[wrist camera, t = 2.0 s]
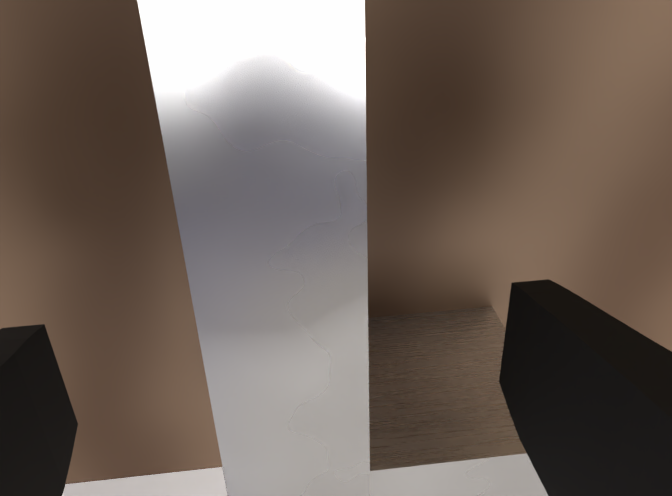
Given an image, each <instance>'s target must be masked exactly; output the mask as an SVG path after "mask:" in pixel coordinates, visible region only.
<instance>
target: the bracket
mask: <svg viewBox="0 0 672 496" xmlns="http://www.w3.org/2000/svg"><path fill="white" fill-rule="evenodd" d="M137 2H138V7H139V13H140V18H141V24H142V29H143V35H144V40H145V46H146V51H147V57H148V62H149V67H150V73H151V78H152V84H153V89H154V95H155V100H156V106H157V111H158V117H159V122H160V128H161V133H162V139H163V144H164V150H165V155H166V160H167V166H168V171H169V177H170V182H171V188H172V193H173V199H174V204H175V210H176V215H177V221H178V226H179V232H180V237H181V243H182V248H183V254H184V259H185V264H186V270H187V275H188V281H189V286H190V292H191V297H192V303H193V308H194V314H195V319H196V325H197V330H198V336H199V341H200V347H201V352H202V358H203V363H204V368H205V374H206V379H207V385H208V390H209V396H210V401H211V407H212V412H213V418H214V423H215V429H216V434H217V440H218V445H219V451H220V456H221V461H222V467H223V472H224V478H225V483H226V489H227V494H228V496H548V494H547V492H546V490H545V488H544V486H543V484H542V482H541V481H540V479H539V477H538V475H537V473H536V471H535V469H534V467H533V465H532V463H531V461H530V459H529V457H528V455H527V453H526V451H525V449H524V447H523V445H522V443H521V441H520V439H519V436H518V434H517V431H516V428H515V426H514V423H513V420H512V418H511V415H510V412H509V409H508V407H507V404H506V401H505V398H504V395H503V392H502V389H501V386H500V383H499V377H500V369H501V361H502V353H503V346H504V338H505V330H506V329H505V327H504V325H503V324H502V322H501V320H500V319H499V317H498V315H497V314H496V312H495V310H494V308H493V307H481V308H471V309H460V310H449V311H438V312H428V313H417V314H406V315H396V316H385V317H374V318H368V254H367V165H366V75H365V0H137Z"/></svg>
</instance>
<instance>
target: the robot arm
mask: <svg viewBox="0 0 672 496" xmlns="http://www.w3.org/2000/svg"><path fill="white" fill-rule="evenodd" d="M499 383H500V386H501V389H502V392H503V395H504V398H505V401H506V404H507V407H508V409H509V412H510V415H511V418H512V420H513V423H514V426H515V428H516V431H517V434H518V436H519V439H520V441H521V443H522V445H523V447H524V449H525V451H526V453H527V455H528V457H529V459H530V461H531V463H532V465H533V467H534V469H535V471H536V473H537V475H538V477H539V479H540V481H541V482H542V484H543V486H544V488H545V490H546V492H547V494H548V496H672V351H670V350H668V349H666V348H665V347H663V346H661V345H659V344H658V343H656V342H654V341H653V340H651V339H649V338H648V337H646V336H644V335H643V334H641V333H639V332H638V331H636V330H634V329H633V328H631V327H629V326H628V325H626V324H624V323H623V322H621V321H619V320H618V319H616V318H615V317H613V316H611V315H610V314H608V313H606V312H605V311H603V310H601V309H600V308H598V307H596V306H595V305H593V304H592V303H590V302H588V301H587V300H585V299H583V298H582V297H580V296H578V295H577V294H575V293H573V292H571V291H570V290H568V289H566V288H564V287H563V286H561V285H559V284H557V283H555V282H553V281H551V280H549V279H546V280H535V281H524V282H513V283H511V291H510V299H509V307H508V314H507V322H506V330H505V338H504V346H503V353H502V361H501V369H500V377H499ZM77 427H78V422H77V419H76V416H75V413H74V411H73V408H72V405H71V402H70V399H69V396H68V393H67V390H66V387H65V384H64V381H63V378H62V375H61V372H60V369H59V366H58V363H57V360H56V357H55V354H54V351H53V348H52V345H51V342H50V339H49V336H48V333H47V330H46V327H45V324H41V325H29V326H18V327H7V328H2V329H0V496H62V493H63V490H64V487H65V483H66V479H67V475H68V470H69V466H70V462H71V457H72V452H73V447H74V442H75V437H76V432H77Z"/></svg>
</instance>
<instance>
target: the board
mask: <svg viewBox="0 0 672 496" xmlns="http://www.w3.org/2000/svg"><path fill="white" fill-rule="evenodd" d="M365 75H366V165H367V254H368V318H374V317H385V316H396V315H406V314H417V313H428V312H438V311H449V310H460V309H471V308H481V307H493V308H494V310H495V312H496V314H497V315H498V317H499V319H500V320H501V322H502V324H503V325H504V327H505V329H506V322H507V314H508V307H509V299H510V291H511V283H513V282H524V281H535V280H546V279H549V280H551V281H553V282H555V283H557V284H559V285H561V286H563V287H564V288H566V289H568V290H570V291H571V292H573V293H575V294H577V295H578V296H580V297H582V298H583V299H585V300H587V301H588V302H590V303H592V304H593V305H595V306H596V307H598V308H600V309H601V310H603V311H605V312H606V313H608V314H610V315H611V316H613V317H615V318H616V319H618V320H619V321H621V322H623V323H624V324H626V325H628V326H629V327H631V328H633V329H634V330H636V331H638V332H639V333H641V334H643V335H644V336H646V337H648V338H649V339H651V340H653V341H654V342H656V343H658V344H659V345H661V346H663V347H665V348H666V349H668V350H670V351H672V0H365ZM41 324H45V327H46V330H47V333H48V336H49V339H50V342H51V345H52V348H53V351H54V354H55V357H56V360H57V363H58V366H59V369H60V372H61V375H62V378H63V381H64V384H65V387H66V390H67V393H68V396H69V399H70V402H71V405H72V408H73V411H74V413H75V416H76V419H77V422H78V427H77V432H76V437H75V442H74V447H73V452H72V457H71V462H70V466H69V470H68V475H67V479H66V483H65V484H70V483H79V482H88V481H98V480H107V479H116V478H125V477H134V476H143V475H152V474H161V473H170V472H179V471H188V470H197V469H206V468H215V467H222V461H221V456H220V451H219V445H218V440H217V434H216V429H215V423H214V418H213V412H212V407H211V401H210V396H209V390H208V385H207V379H206V374H205V368H204V363H203V358H202V352H201V347H200V341H199V336H198V330H197V325H196V319H195V314H194V308H193V303H192V297H191V292H190V286H189V281H188V275H187V270H186V264H185V259H184V254H183V248H182V243H181V237H180V232H179V226H178V221H177V215H176V210H175V204H174V199H173V193H172V188H171V182H170V177H169V171H168V166H167V160H166V155H165V150H164V144H163V139H162V133H161V128H160V122H159V117H158V111H157V106H156V100H155V95H154V89H153V84H152V78H151V73H150V67H149V62H148V57H147V51H146V46H145V40H144V35H143V29H142V24H141V18H140V13H139V7H138V2H137V0H0V329H2V328H7V327H18V326H29V325H41Z"/></svg>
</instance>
